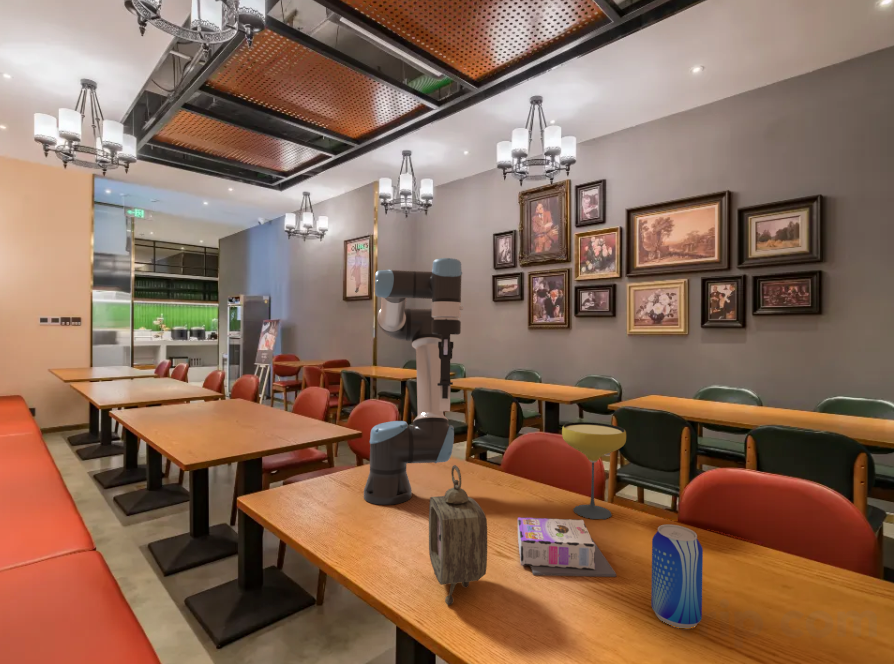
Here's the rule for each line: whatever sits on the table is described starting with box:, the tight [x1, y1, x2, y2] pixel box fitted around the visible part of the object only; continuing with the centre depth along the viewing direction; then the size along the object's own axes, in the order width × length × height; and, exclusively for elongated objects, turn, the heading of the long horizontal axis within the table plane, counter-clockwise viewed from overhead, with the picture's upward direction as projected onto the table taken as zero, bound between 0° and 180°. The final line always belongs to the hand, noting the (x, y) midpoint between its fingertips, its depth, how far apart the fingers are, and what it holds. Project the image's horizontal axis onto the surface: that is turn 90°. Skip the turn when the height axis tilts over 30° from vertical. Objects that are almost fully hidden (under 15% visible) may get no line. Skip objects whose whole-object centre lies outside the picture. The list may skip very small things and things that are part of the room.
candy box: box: [517, 516, 596, 570], centre depth 108 cm, size 14×6×16 cm
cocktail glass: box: [561, 421, 627, 520], centre depth 135 cm, size 18×18×25 cm
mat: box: [529, 540, 617, 578], centre depth 109 cm, size 20×18×1 cm
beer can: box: [650, 524, 704, 629], centre depth 85 cm, size 8×8×16 cm
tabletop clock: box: [428, 464, 488, 606], centre depth 94 cm, size 14×9×25 cm, turn 13°
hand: (444, 410), depth 118 cm, fingers closed
